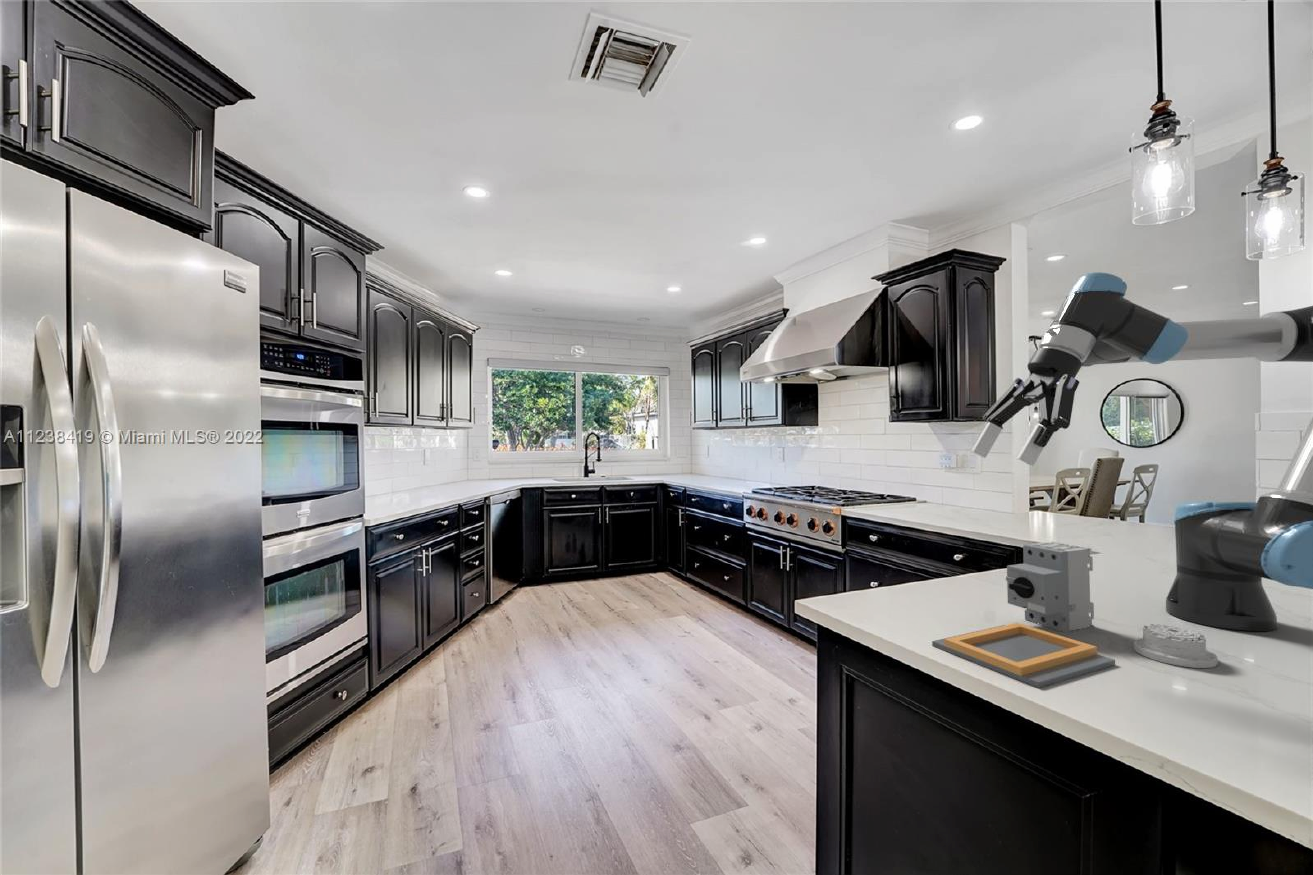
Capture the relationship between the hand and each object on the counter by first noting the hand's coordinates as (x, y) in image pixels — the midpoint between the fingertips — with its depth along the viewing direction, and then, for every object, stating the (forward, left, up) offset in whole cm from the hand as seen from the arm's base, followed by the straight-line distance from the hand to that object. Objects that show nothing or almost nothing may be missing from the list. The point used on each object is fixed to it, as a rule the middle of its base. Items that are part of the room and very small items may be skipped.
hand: (999, 458), depth 99 cm
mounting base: (+6, +7, -33) cm, 34 cm away
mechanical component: (-16, +18, -33) cm, 41 cm away
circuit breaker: (-13, 0, -33) cm, 36 cm away
